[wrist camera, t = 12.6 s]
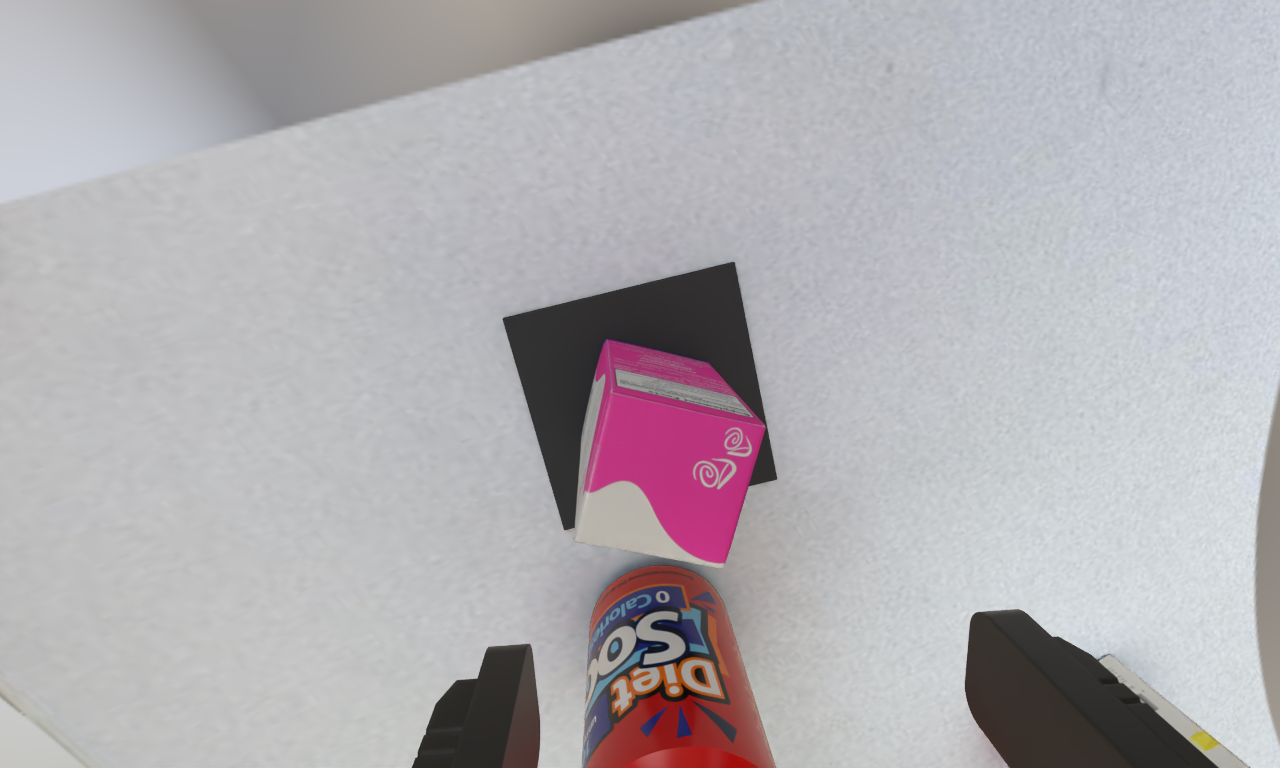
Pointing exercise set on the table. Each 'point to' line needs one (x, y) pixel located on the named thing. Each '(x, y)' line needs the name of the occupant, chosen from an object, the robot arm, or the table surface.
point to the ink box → (1174, 716)
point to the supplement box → (663, 456)
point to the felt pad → (642, 315)
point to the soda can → (668, 679)
